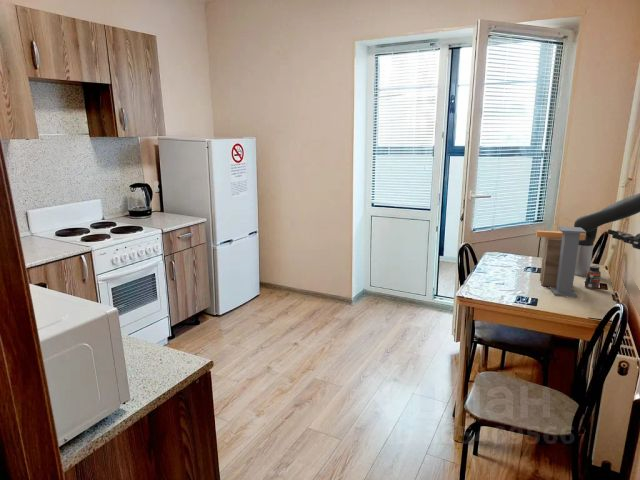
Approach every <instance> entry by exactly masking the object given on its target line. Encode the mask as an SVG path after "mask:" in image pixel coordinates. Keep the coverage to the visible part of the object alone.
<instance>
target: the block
mask: <svg viewBox="0 0 640 480" xmlns="http://www.w3.org/2000/svg"><path fill="white" fill-rule="evenodd" d="M535 231H536V232H535V237H536V238H543V239H545V238H559V239H562V234H563V233H562V232H561V231H557V230H556V231H554V230H538V229H537V230H535ZM585 238H586V234H580V237H579V240H585Z"/></svg>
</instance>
